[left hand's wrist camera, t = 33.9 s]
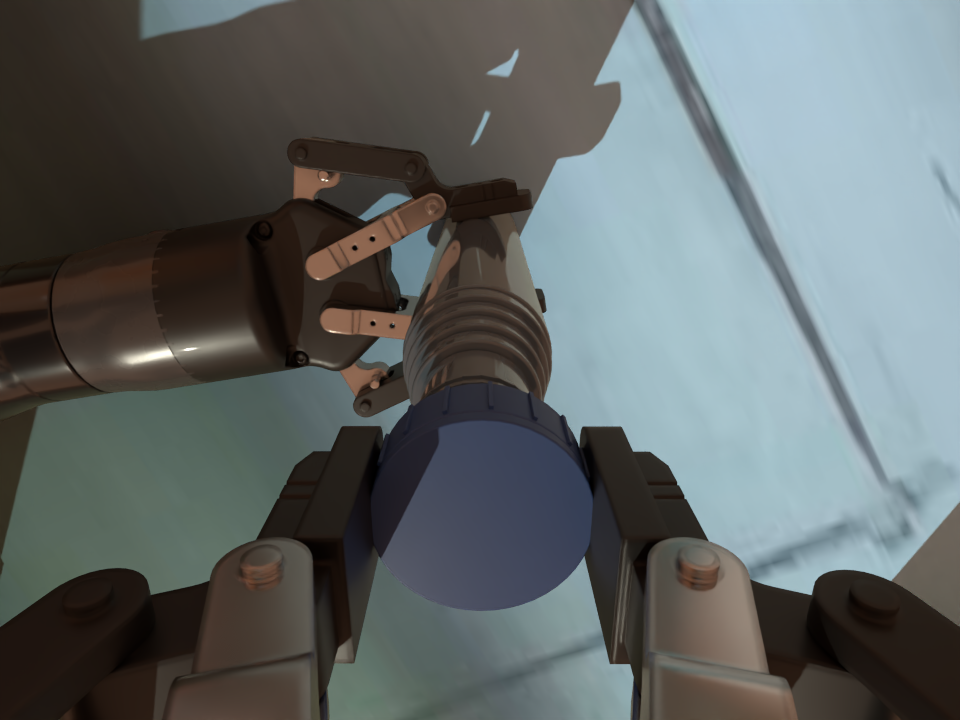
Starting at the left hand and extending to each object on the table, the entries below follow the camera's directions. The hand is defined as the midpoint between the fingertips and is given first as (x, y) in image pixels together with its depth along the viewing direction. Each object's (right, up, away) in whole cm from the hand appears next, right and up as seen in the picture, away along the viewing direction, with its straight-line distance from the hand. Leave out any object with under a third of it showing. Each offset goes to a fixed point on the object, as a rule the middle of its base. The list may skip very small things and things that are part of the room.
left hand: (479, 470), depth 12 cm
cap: (0, 0, -1) cm, 1 cm away
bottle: (0, +9, +24) cm, 26 cm away
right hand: (+3, +7, +18) cm, 20 cm away
